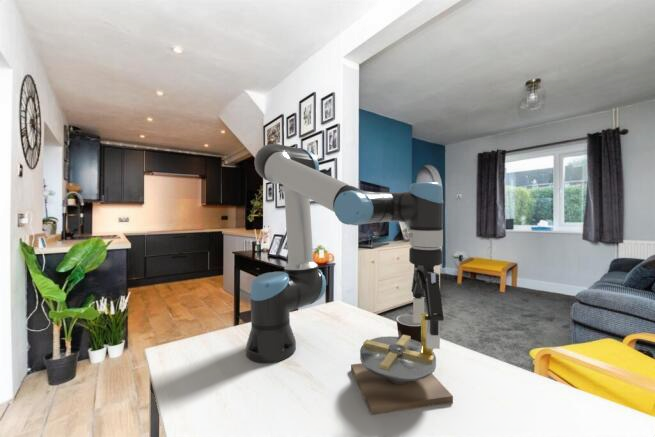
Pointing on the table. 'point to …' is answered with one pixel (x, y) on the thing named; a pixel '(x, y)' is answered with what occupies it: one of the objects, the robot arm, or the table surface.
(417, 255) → the robot arm
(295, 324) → the table surface
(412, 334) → the coffee mug
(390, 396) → the wheel stand
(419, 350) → the handwheel
